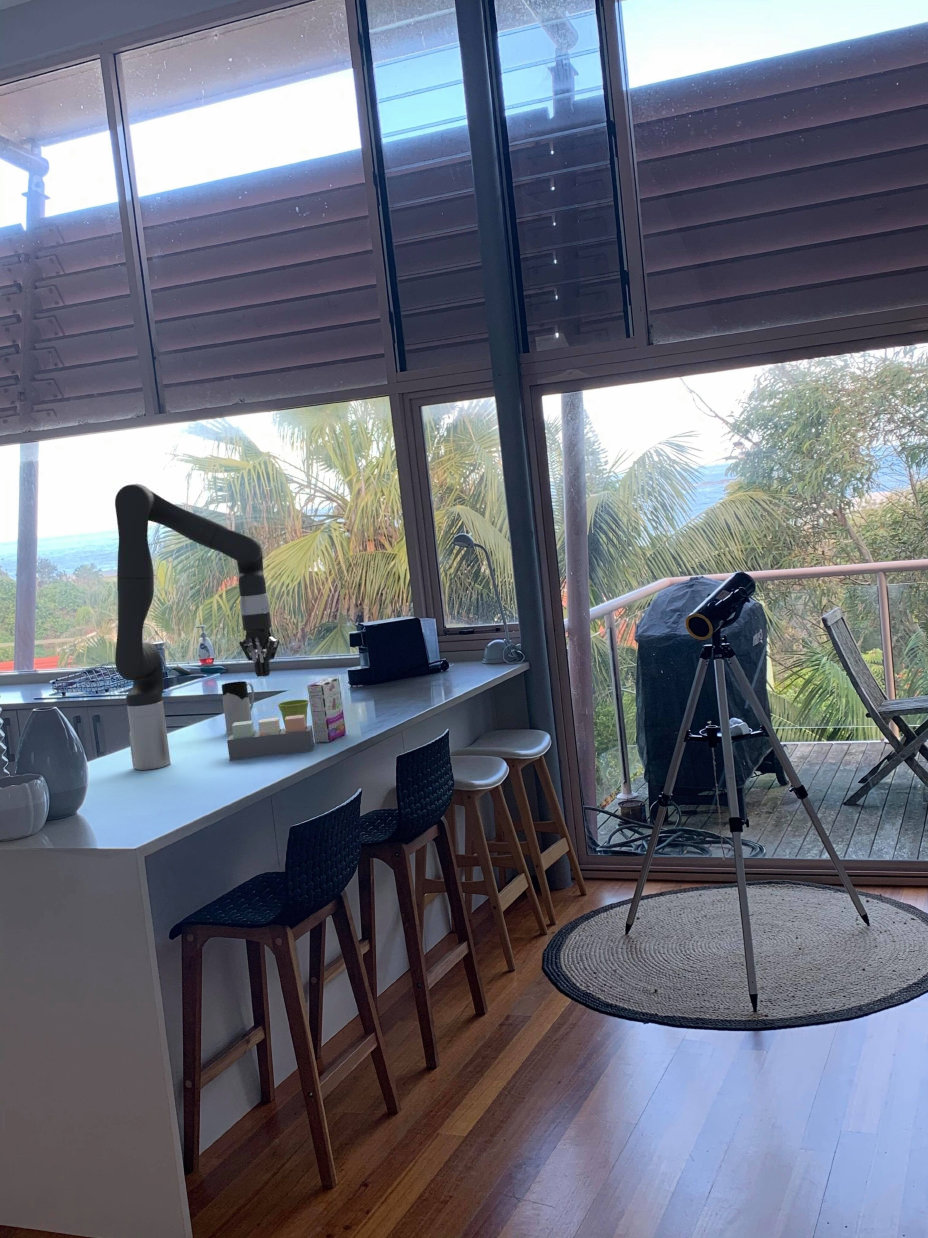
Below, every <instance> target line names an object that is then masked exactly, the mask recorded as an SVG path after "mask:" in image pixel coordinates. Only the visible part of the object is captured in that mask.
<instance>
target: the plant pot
mask: <svg viewBox="0 0 928 1238" xmlns="http://www.w3.org/2000/svg"><path fill="white" fill-rule="evenodd" d="M309 704H310V701H309V700H308V699H292V700H286V701H282V702H279V703H277V707H278V708H279V711H280V713H281V716H282V721H283V724H284V729H286V727H285V718H286V716H295V715H304V714H305V723H306V726H308V724H307V723H308V722H307V721H308V708H309Z"/></svg>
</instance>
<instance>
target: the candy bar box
mask: <svg viewBox="0 0 928 1238" xmlns="http://www.w3.org/2000/svg"><path fill="white" fill-rule="evenodd" d="M307 692H308V699H309V709H310V714H311V715H310V716H311V720H312V721H311V723H312V731H313V739H314V744H321V743H322V744H324V743H325V744H326V743H332V742H334V741H335V740H337V739H339V738H341V737H343V736H345V735H346V734H347V730H346V722H345V717H344V716H345V715H344V709H343V707H344V706H343V700H342V692H341V686H340V678H339V677H329V678H328V677H326V678H322V679H321V680H317V681H315V682H313V683H311V684H309V685H307Z"/></svg>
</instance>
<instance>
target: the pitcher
mask: <svg viewBox="0 0 928 1238" xmlns="http://www.w3.org/2000/svg"><path fill="white" fill-rule="evenodd" d="M248 685H249V686H250V690H251V702H250V697H249V693H248V692H249V691H248ZM221 692H222V703H223V714H224V720H225V728H226V729H225V730H226V731H225V734H224V735H226V736H230V735H233V731H232V725H233V724H234V723H235V722H243V721H252V720H253V719H252V710H253V707H254V701H255V692H254V686H253V684H252V683H251V682H247V681H243V680H242V681H230V682H228V683H227V682H225V683H222V684H221Z"/></svg>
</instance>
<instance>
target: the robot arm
mask: <svg viewBox="0 0 928 1238" xmlns="http://www.w3.org/2000/svg"><path fill="white" fill-rule="evenodd" d="M114 506H115V515H116V522H117V524H116V525H117V531H118V549H117V571H116V573H117V574H116V579H117V580H116V581H117V582H116V583H117V586H116V587H117V633H116V634H117V635H116V645H115V658H114V659H115V668H116V671H117V673H118V675H119V676H120V677H121V678H122V679H123V680H125V681H133V684H132V686H131V687H132V688H131V689H130V691H128V693H127V694H126V697H125V700H126V701H125V702H126V708H127V715H128V716H127V717H128V722H129V731H130V732H129V733H128V739H129V747H130V755H131V761H132V763H131V764H132V768H133V769H135V770H139V771H144V770H155V769H159V768H160V769H161V768H163V767H164V768H165V767H167V766H169V765H170V764H171V756H170V748H169V747H170V746H169V740H168V733H167V725H166V718H165V711H164V709H165V708H164V703H163V702H164V701H163V692H164V688H165V687H164V686H165V685H164V683H165V682H164V673H163V672H164V669H163V662H162V657H161V653H160V651H159V649H158V648H157V647H156V645H154V644H153V643H151V642H147V641H146V642H145V641H144V640H143V635H144V633H143V632H144V631H143V629H144V626H145V621H146V618H147V615H148V613H149V611H150V608H151V607H152V606H151V605H152V602H153V599H154V596H155V595H154V593H155V574H154V565H153V559H152V555H151V551H150V546H149V545H150V544H149V540H148V539H149V538H148V536H149V535H148V533H149V532H148V531H149V522H152V523H155V524H159V525H162V526H163V527H166V528H168V529H171V530H172V531H174V532H176V533H178V534H179V535H181V536H183V537H184V538H187V539H189V540H190V541H192V542H194V543H196V544H198V545H201V546H203V547H206V548H208V549H210V550H213V551H216V552H219V553H221V554H223V555H225V556H227V557H229V558H231V559H233V560H236V564H237V570H238V589H239V591H238V592H239V596H240V597H239V600H240V602H239V607H240V613H241V614H240V615H241V622H242V623H241V624H242V629H243V631H244V632H245V638H244V639H243V640H241V641H239V643H238V644H239V646H240V648H241V649H242V651H243V653H244V655H245V657H246V659H247V661H249V662H250V661H252V663H253V664H254V672H255V673H254V674H255V675H256V677H258V678H259V677H269V676H270V674H271V670H270V661H271V660H274V659H275V658H276V654H277V651H278V648H279V644H280V640H279V639H278V638H277V639H275V638H274V637H273V636H272V632H271V630H270V629H271V628H272V618H271V611H270V610H271V609H270V603H269V598H268V595H267V586H266V579H265V575H264V562H263V560H264V559H263V548H262V545H261V543H260V541H258V540H257V539H255V538H254V537H251V536H248V535H244V534H242V533H240V532H237V531H234V530H231V529H229V528H228V527H227V526H225V525H223V524H222V523H218V522H217V521H214V520H212V519H210V518H207V517H204V516H202V515H200V514H197V513H195V512H192V511H189V510H187V509H185V508H182V507H180V506H178V505H176V504H174V503H172V502H170V501H168V500H166V499H164V498H163V497H162V496H160V495H158V494H156V493H155V492H154V491H152V490H150V489H149V488H148V487H146V486H145V485H143V484H139V483H133V484H127V485H125V486H122V487H121V488H120V489H119V490H118V492H117V493H116V495H115V499H114ZM143 641H144V642H143Z"/></svg>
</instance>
